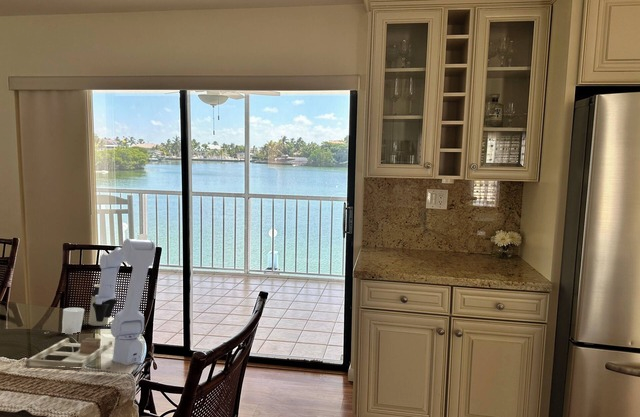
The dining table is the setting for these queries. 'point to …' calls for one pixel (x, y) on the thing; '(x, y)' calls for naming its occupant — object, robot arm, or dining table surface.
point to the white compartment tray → (72, 359)
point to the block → (89, 345)
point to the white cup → (72, 320)
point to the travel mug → (92, 312)
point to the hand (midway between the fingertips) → (103, 319)
